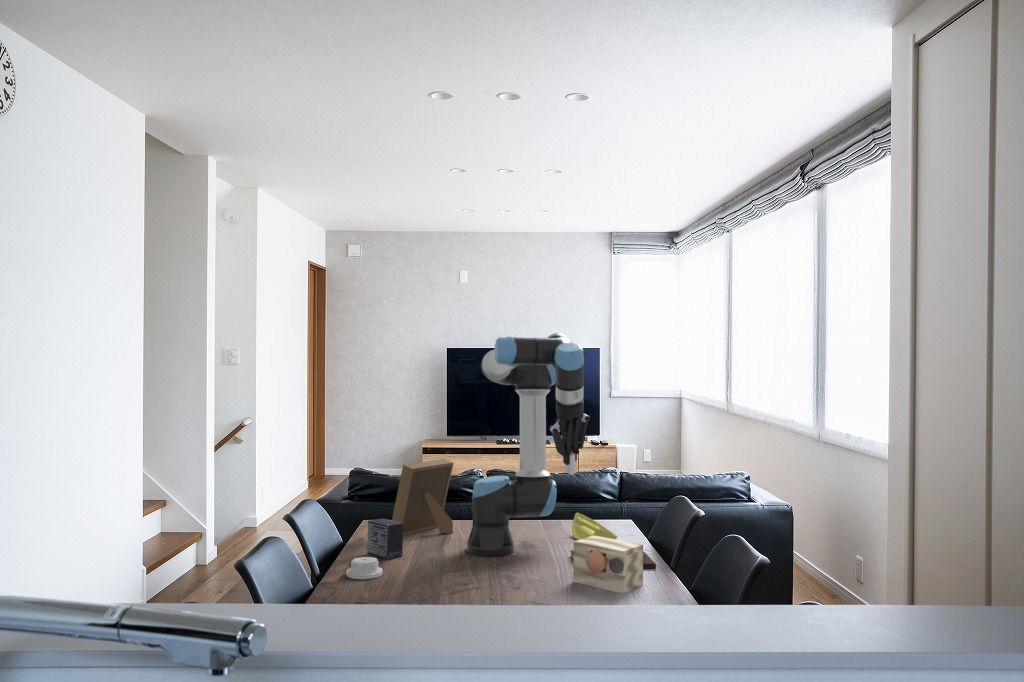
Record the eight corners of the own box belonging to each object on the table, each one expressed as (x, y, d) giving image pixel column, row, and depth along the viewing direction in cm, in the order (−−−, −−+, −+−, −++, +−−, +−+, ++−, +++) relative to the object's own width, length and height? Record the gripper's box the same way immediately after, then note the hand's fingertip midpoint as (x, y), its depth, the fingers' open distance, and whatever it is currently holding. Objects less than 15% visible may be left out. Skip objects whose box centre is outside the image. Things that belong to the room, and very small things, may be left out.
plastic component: (619, 537, 246) (595, 526, 243) (610, 558, 245) (585, 546, 242) (596, 521, 265) (573, 510, 262) (587, 540, 264) (564, 529, 261)
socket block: (621, 594, 191) (622, 551, 192) (571, 582, 202) (572, 541, 202) (642, 585, 200) (643, 544, 200) (593, 574, 210) (593, 535, 210)
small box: (404, 556, 227) (404, 522, 227) (387, 560, 222) (387, 525, 223) (383, 550, 234) (383, 517, 235) (366, 554, 229) (367, 520, 230)
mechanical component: (338, 576, 205) (364, 582, 200) (339, 560, 205) (365, 566, 200) (364, 568, 214) (389, 574, 208) (364, 553, 214) (390, 558, 208)
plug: (603, 575, 194) (603, 553, 194) (585, 571, 198) (585, 550, 198) (626, 566, 203) (626, 545, 203) (608, 562, 207) (608, 542, 207)
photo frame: (389, 535, 255) (391, 462, 255) (431, 524, 272) (433, 457, 273) (420, 542, 246) (422, 467, 247) (462, 531, 264) (464, 461, 264)
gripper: (558, 411, 193) (559, 486, 203) (597, 397, 199) (596, 470, 209) (542, 400, 199) (543, 473, 208) (580, 387, 205) (580, 458, 215)
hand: (570, 472), depth 209 cm, fingers closed
